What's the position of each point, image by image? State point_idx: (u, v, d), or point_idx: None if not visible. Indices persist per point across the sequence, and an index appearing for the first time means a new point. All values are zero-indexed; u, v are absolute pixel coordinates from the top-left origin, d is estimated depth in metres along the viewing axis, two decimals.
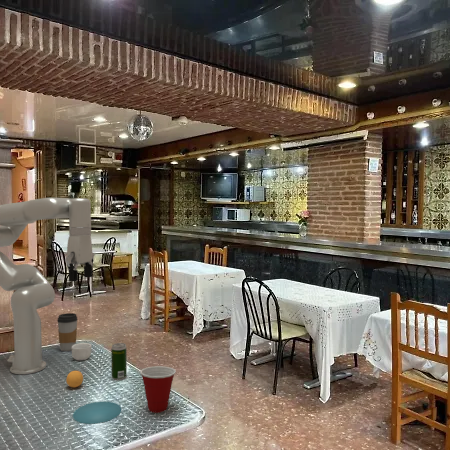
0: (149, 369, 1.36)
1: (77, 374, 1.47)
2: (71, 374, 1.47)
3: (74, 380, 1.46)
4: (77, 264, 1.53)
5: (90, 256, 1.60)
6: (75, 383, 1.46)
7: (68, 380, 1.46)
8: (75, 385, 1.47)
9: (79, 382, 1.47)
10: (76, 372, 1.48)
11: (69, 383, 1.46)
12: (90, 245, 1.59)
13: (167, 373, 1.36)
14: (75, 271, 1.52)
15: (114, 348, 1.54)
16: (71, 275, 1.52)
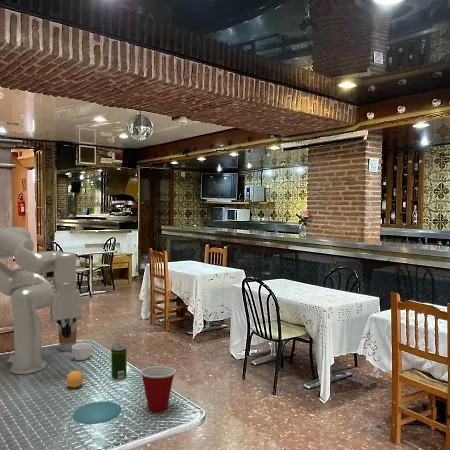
0: (149, 369, 1.36)
1: (77, 374, 1.47)
2: (71, 374, 1.47)
3: (74, 380, 1.46)
4: None
5: None
6: (75, 383, 1.46)
7: (68, 380, 1.46)
8: (75, 385, 1.47)
9: (79, 382, 1.47)
10: (76, 372, 1.48)
11: (69, 383, 1.46)
12: None
13: (167, 373, 1.36)
14: None
15: (114, 348, 1.54)
16: None
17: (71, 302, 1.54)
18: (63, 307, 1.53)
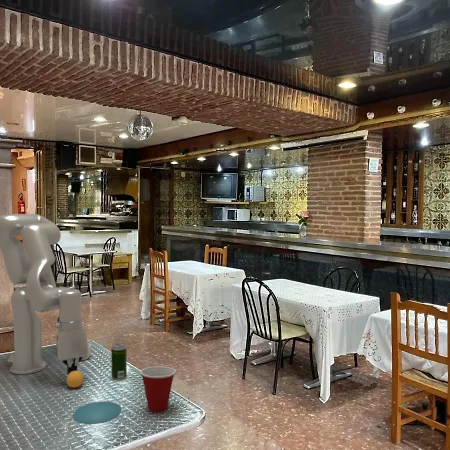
0: (149, 369, 1.36)
1: (77, 374, 1.47)
2: (71, 374, 1.47)
3: (75, 380, 1.46)
4: None
5: None
6: (75, 384, 1.46)
7: (68, 380, 1.46)
8: (75, 385, 1.47)
9: (79, 382, 1.47)
10: (76, 372, 1.48)
11: (69, 383, 1.46)
12: None
13: (167, 373, 1.36)
14: None
15: (114, 348, 1.54)
16: None
17: (77, 341, 1.50)
18: (69, 347, 1.49)
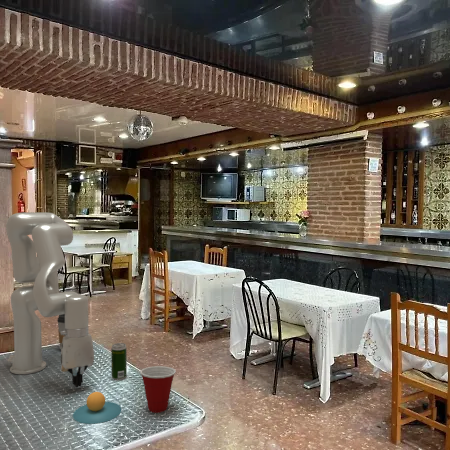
0: (149, 369, 1.36)
1: (100, 407, 1.30)
2: (94, 406, 1.29)
3: None
4: None
5: None
6: None
7: (88, 407, 1.29)
8: None
9: None
10: (100, 404, 1.29)
11: None
12: None
13: (167, 373, 1.36)
14: None
15: (114, 348, 1.54)
16: None
17: (83, 349, 1.44)
18: (74, 355, 1.43)
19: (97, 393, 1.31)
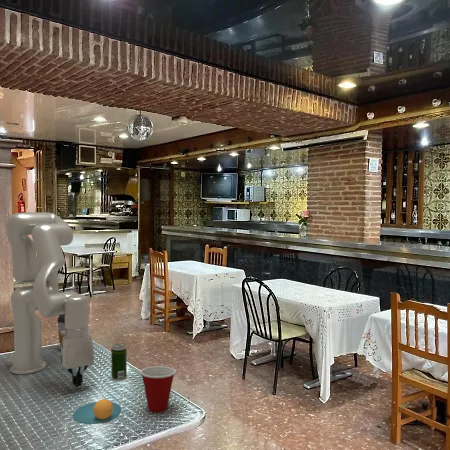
0: (149, 369, 1.36)
1: None
2: None
3: None
4: None
5: None
6: None
7: None
8: (100, 400, 1.27)
9: None
10: None
11: (94, 406, 1.26)
12: None
13: (167, 373, 1.36)
14: None
15: (114, 348, 1.54)
16: None
17: (83, 349, 1.44)
18: (74, 355, 1.43)
19: (106, 418, 1.25)
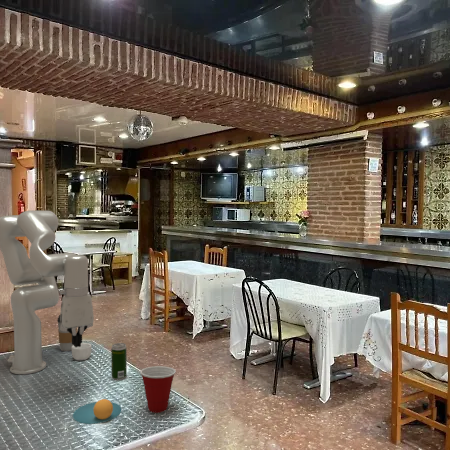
0: (149, 369, 1.36)
1: None
2: None
3: None
4: None
5: None
6: None
7: None
8: (100, 400, 1.27)
9: None
10: None
11: (94, 406, 1.26)
12: None
13: (167, 373, 1.36)
14: None
15: (114, 348, 1.54)
16: None
17: (82, 309, 1.44)
18: (74, 314, 1.42)
19: (106, 418, 1.25)
